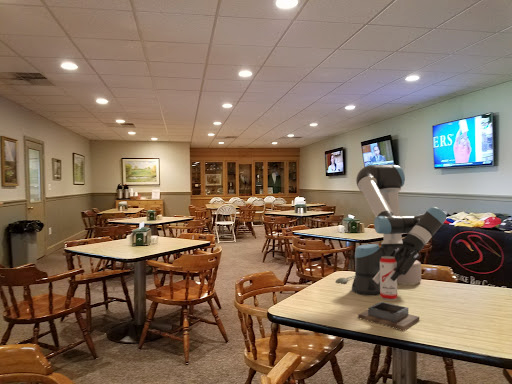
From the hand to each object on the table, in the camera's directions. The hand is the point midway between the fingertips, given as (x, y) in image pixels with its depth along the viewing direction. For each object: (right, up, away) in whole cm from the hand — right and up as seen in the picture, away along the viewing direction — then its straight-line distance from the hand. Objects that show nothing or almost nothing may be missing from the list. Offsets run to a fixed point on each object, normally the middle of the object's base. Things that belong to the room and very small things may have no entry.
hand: (380, 283), depth 132 cm
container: (+35, -15, +60) cm, 71 cm away
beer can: (+4, -6, +1) cm, 7 cm away
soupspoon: (+5, -16, +64) cm, 66 cm away
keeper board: (+4, -14, +1) cm, 15 cm away
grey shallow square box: (+4, -13, +1) cm, 13 cm away
